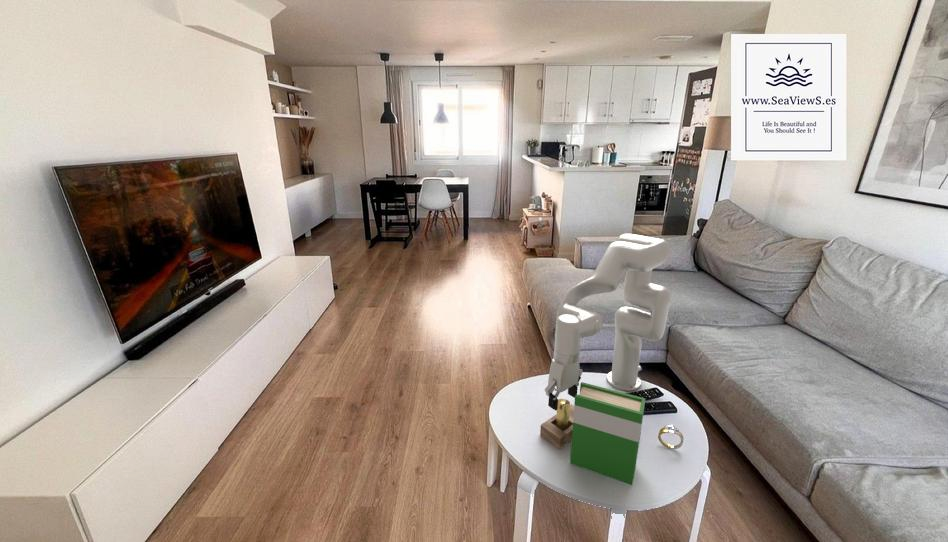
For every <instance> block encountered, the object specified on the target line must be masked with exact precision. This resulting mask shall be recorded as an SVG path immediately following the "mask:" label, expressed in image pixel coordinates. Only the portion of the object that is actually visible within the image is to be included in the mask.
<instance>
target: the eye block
mask: <svg viewBox="0 0 948 542" xmlns="http://www.w3.org/2000/svg"><path fill="white" fill-rule="evenodd" d="M573 416H574V404H571V403H570V411H569V425H568V429H566V430H565V431H562V430H561V429H559V428H558V427H556V414H554V416H552V417H550V418H548V419H547V420H546V421H544V422H543V423H541V424H540V428H539V429H540V431H539V432H540V434H539V435H540V436H541V437H542V438H543V439H545V440H547V441H548V442H549V443H551V444H552V445H554V446H555V447H556V448H558V449H560V450H561V448H563V447H564V446H565V445H566V444H567V443H569V442H571V441H572V429H573Z"/></svg>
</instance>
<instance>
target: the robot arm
mask: <svg viewBox="0 0 948 542" xmlns="http://www.w3.org/2000/svg"><path fill="white" fill-rule="evenodd" d="M670 254H671V247H670V243H669V242H668V241H667V240H666V239H662V238H657V237H651V236H645V235H640V234H634V233H622V234H621V235H619V236H618V238H617V241H613V242H611V243H610V244H609V245H608V247H607V249H606V251H605V252H604V254H603V256H602V257H601V259H600V261H599V263H598V264H597V267H596V269H595V270H594V272H593V273H592V275H591V276H590V277H588V278H586V279H584V280H582V281H581V282H579V283H577V284H576V285H575V286H573V287H571V289H569V290H568V291H567V293H566V294H565V296H564V298H563V299H562V301H561V303H560V305H559V306H558V310H557V313H556V322H555V323H556V324H555V333H554V336H555V337H554V348H553V349H554V350H553V358H552V360H551V363H550V368H549V373H548V381H547V385H546V387H545V388H544V392H545V395H546V396H547V397H548V404H547V405H548V407H549V408H551V409H552V410H554V411H556V412H557V409H558V400H559V399H558V397H559V396H560V394H561V393H563V392H566V390H567V395H569V396H571V397H573V398H574V399H575V395H576V394H577V395H578V387H580V383H579V382H580V380H581V379H582V377H581V376H582V375H583V369H580V349H581V342H582V339H584V338H588V337H593V336H595V335H597V334H598V333H599V332H600V331H601V330H602V329H603V326H604V319H603V317H602V316H601V314H599V313H598V312H595V311H592V310H589V309H587V308H585V307H581V306H578V304H579V302H581V301H582V300H583V299H585V298H587V297H589V296H594V295H599V294H606V293H607V294H608V293H613V292H614V291H616V290H617V289H618V287H619V286H620V283H621V281H622V279H623V277H624V276H625V277H624V278H625V279H624V284H623V292H622V298H623V300H624V302H625V303H627V304H629V305H631V306H626V305H625V306H621V307H620V308H618V309H617V310H616V311H615V314H614V327H615V328H614V329H615V330H614V331H615V337H614V347H613V357H612V365H611V371H610V372H608V373H607V375H606V381H607V383H608V384H609V385H610V386H611V387H613V388H615V389H618V390H621V391H624V392H625V391H627V392H629V391H631V392H632V391H636V390H638V389H639V388H640V387H641V383H642V382H641V378H640V377H639V376H638V375H639V372H640V371H642V369H643V368H642V367H641V365H640V358H641V350H642V340H641V339H642V338H643V339H644V340H647V341H652V342H658V341H660V340H661V339H662V338H663V336H664V335H665V330H666V326H667V321H668V316H669V315H668V314H669V310H670V305H671V299H672V298H671V292H670V290H669V289H668V288H667V287H666V286H663V285H660V284H656V283H652V281H651V279H652V274H653V270H654V269H655V268H658V267H660V266H662V265H663V264H665V262H667V260H668V259H669V256H670ZM633 306H634V307H633ZM636 307H638V308H636ZM640 308H641V309H640ZM644 309H645V310H644ZM646 310H647V311H646ZM648 311H649V312H648ZM554 391H555V393H553V392H554Z"/></svg>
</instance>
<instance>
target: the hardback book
mask: <svg viewBox="0 0 948 542" xmlns="http://www.w3.org/2000/svg"><path fill="white" fill-rule="evenodd" d="M579 387H580V388H579V393H577V394H576V395H575V398H574V403H573V405H574V416H573V429H572V440H571V441H570V443H571V444H570V458H569V464H571V465H573V466H577V467H579V468H582V469H585V470H588V471H590V472H594V473H597V474H599V475H602V476H605V477H606V478H607V477H608V478H611V479H613V480H616V481H618V482H619V481H620V482H622V483H625V484H626V485H627V484H628V485H630V486H633V482H634V479H635V478H634V477H635V471H636V466H637V460H638V459H637V458H638V452H639V447H640V445H639V444H640V439H641V438H640V437H641V431H642V426H643V425H642V424H643V417H644V411H645V406H646V405H645V404H646V398H645V397H641V396H636V395H634V394H629V393H625V392H622V391H618V390H614V389H611V388H606V387H602V386H598V385H594V384H591V383H586V382H583V381H581V382H580V383H579Z"/></svg>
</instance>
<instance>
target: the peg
mask: <svg viewBox="0 0 948 542" xmlns="http://www.w3.org/2000/svg"><path fill="white" fill-rule="evenodd" d="M570 405H571V402H570V401H569V400H568V399H566V398H560V399H558V409H557V410H556V414H555V415H556V427H558V428H559V429H561V430H562V431H565V430H566V429H568V425H569V411H570Z"/></svg>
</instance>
